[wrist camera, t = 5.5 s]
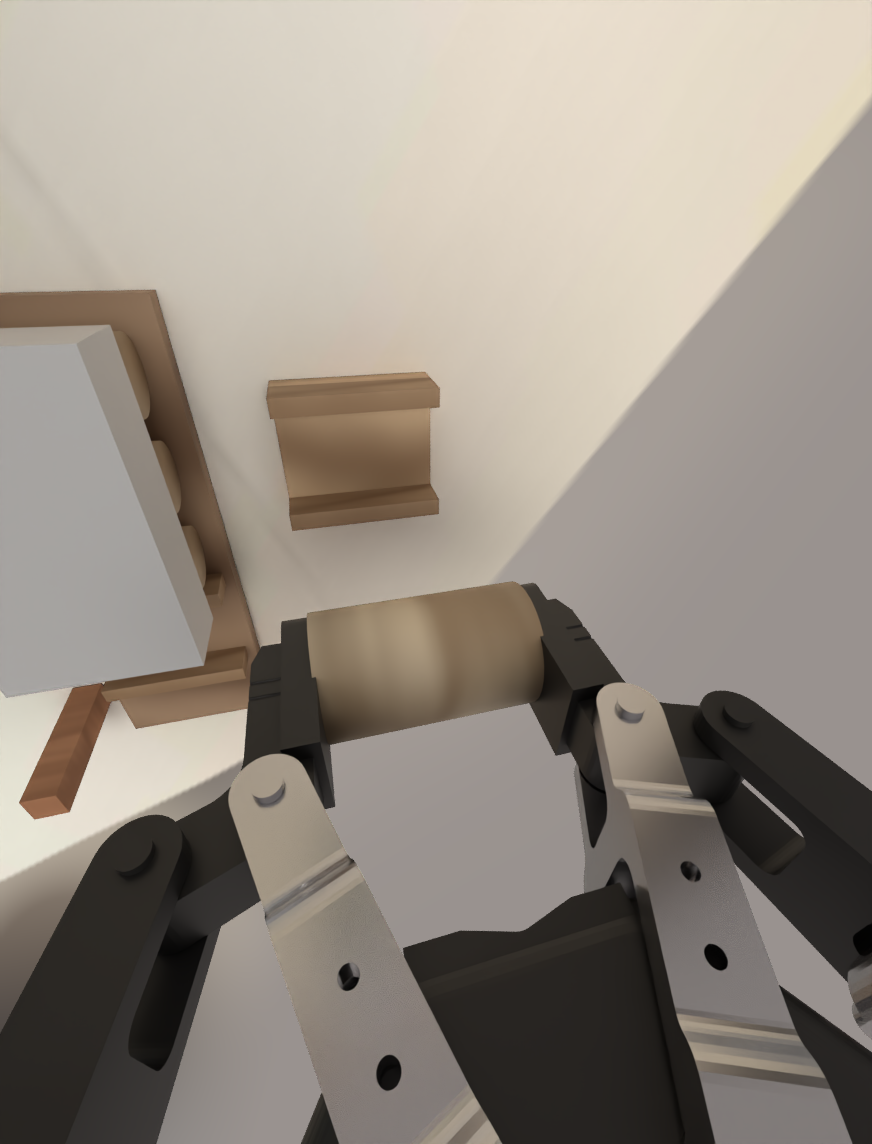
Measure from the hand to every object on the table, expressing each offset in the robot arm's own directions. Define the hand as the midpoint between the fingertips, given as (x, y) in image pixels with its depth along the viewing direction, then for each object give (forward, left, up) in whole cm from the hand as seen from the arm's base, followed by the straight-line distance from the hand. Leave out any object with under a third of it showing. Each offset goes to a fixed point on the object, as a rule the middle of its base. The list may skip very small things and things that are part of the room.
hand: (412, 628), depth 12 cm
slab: (0, -11, -9) cm, 14 cm away
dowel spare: (0, 0, 0) cm, 0 cm away
